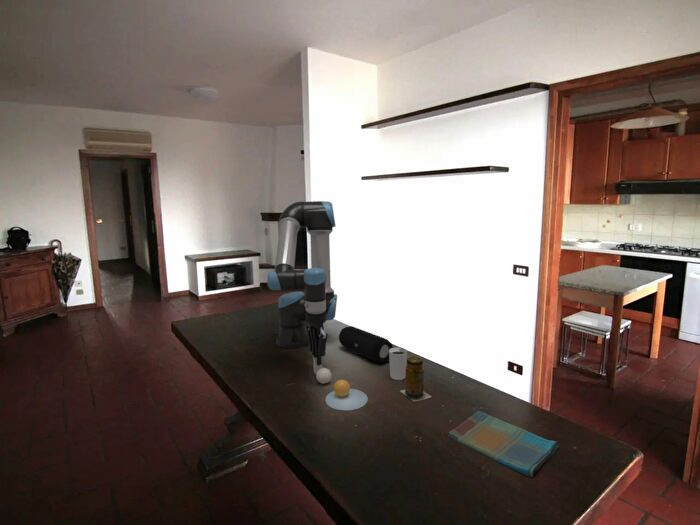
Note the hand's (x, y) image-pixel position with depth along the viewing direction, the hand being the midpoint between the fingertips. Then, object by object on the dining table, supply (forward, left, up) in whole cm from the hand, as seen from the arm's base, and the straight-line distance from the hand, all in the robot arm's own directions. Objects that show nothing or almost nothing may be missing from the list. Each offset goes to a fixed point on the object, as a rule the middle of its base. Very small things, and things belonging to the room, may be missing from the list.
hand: (317, 372), depth 146 cm
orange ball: (+8, +15, +1) cm, 17 cm away
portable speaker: (-27, +7, -2) cm, 28 cm away
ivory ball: (+3, +4, +1) cm, 6 cm away
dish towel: (+12, +66, -3) cm, 67 cm away
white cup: (-13, +27, -2) cm, 30 cm away
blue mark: (+10, +17, -2) cm, 20 cm away
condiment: (-3, +37, -2) cm, 37 cm away
